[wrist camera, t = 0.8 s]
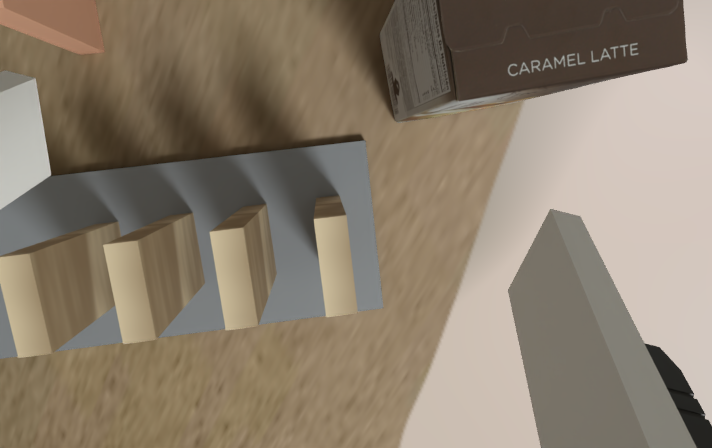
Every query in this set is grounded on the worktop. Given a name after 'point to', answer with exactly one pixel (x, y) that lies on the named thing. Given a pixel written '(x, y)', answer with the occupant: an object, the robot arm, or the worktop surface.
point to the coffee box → (519, 49)
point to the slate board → (212, 225)
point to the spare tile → (56, 22)
